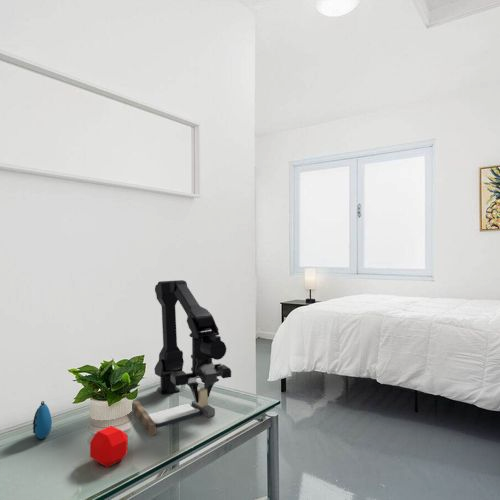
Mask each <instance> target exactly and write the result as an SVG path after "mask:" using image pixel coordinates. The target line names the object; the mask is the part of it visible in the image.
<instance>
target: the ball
mask: <svg viewBox="0 0 500 500" xmlns="http://www.w3.org/2000/svg"><path fill="white" fill-rule="evenodd" d="M128 436H129V435H128V434H126V432H125V431H122V430H121V429H119V428H117V427H116V426H115V427H114V426H113V425H110V426H108V427H105V428H103V429H100V430H98V431H96V433H95V434H94V435H93V437H92V438H91V440H90V443H89V451H90V453H89V454H90V456H89V457H90V458H91V459H93V460H94V461H96V462H97V463H99V464H100V465H103V466H105V467H107V468H108V467H110V466H112V464H113V465H114V463H115V464H117V463H119V462H121V461H122V460H123V459H124V458H125V456H126V455H127V453H128V450H129V447H128V444H129V441H128V440H129V439H128V438H129V437H128Z"/></svg>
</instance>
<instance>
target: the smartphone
mask: <svg viewBox="0 0 500 500" xmlns="http://www.w3.org/2000/svg"><path fill="white" fill-rule="evenodd" d="M148 415H149V416H150V417H151V419H152V420H153V422H154V423H155V428H160V427H165V426H168V425H171V424H175V423H178V422H182V421H185V420H188V419H192V418H195V417H196V418H197V417H199V416H201V415H202V413H201V410H200V409H198V408H197V407H195V406H193V405H192V403H185V404H181V405H176V406H173V407H170V408H166V409H162V410H159V411H156V412H151V413H148Z"/></svg>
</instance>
